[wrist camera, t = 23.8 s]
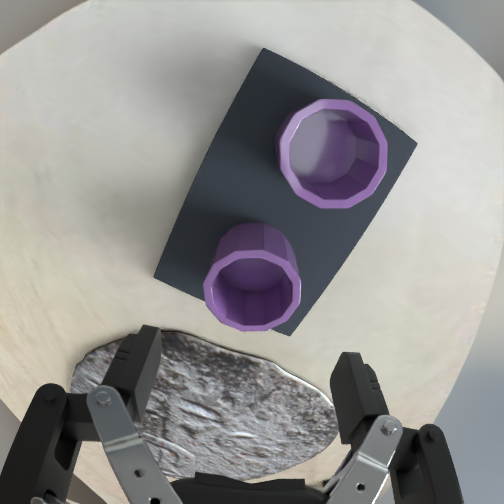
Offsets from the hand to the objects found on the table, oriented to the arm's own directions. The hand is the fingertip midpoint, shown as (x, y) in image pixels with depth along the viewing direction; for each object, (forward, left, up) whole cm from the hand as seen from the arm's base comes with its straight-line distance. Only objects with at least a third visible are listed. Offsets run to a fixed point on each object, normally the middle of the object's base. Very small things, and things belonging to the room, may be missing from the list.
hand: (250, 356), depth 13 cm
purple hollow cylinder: (-9, 0, -10) cm, 13 cm away
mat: (-4, 0, -10) cm, 11 cm away
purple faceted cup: (0, 0, -10) cm, 10 cm away
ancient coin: (+26, +5, -10) cm, 29 cm away
